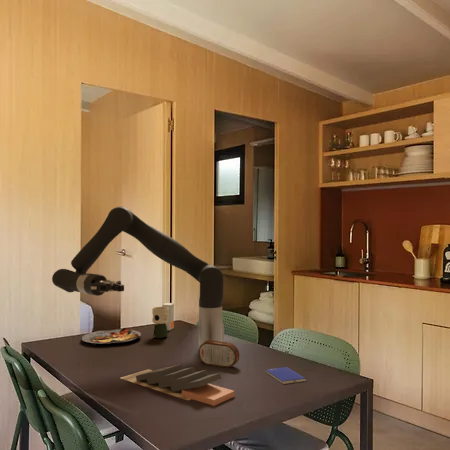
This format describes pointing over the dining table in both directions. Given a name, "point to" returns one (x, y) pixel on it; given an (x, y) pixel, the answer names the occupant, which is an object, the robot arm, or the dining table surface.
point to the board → (153, 385)
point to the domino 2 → (171, 376)
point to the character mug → (160, 321)
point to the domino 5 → (209, 394)
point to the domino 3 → (183, 379)
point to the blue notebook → (285, 375)
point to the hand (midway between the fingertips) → (122, 288)
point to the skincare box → (170, 315)
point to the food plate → (112, 336)
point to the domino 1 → (159, 372)
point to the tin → (219, 353)
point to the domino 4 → (197, 382)
